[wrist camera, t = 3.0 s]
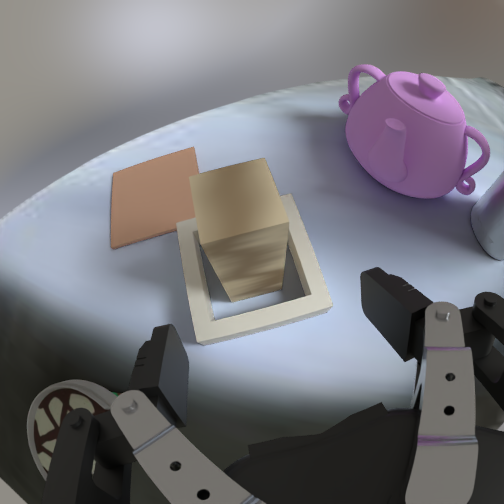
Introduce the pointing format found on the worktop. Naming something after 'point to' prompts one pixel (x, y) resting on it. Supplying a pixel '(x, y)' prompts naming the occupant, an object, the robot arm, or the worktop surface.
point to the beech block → (242, 227)
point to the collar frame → (260, 319)
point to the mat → (152, 197)
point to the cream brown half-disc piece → (61, 414)
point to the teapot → (410, 133)
